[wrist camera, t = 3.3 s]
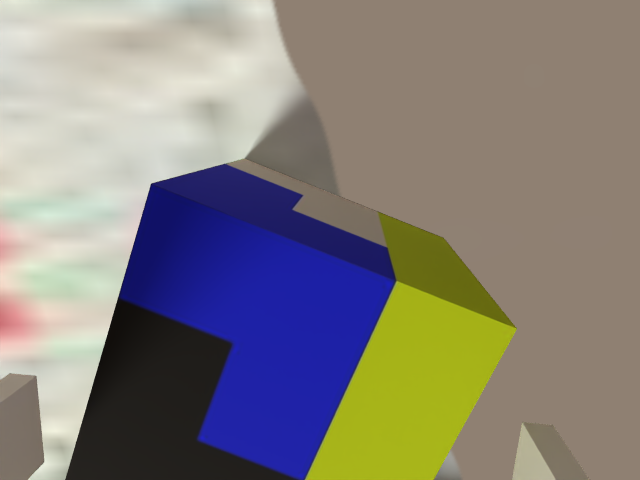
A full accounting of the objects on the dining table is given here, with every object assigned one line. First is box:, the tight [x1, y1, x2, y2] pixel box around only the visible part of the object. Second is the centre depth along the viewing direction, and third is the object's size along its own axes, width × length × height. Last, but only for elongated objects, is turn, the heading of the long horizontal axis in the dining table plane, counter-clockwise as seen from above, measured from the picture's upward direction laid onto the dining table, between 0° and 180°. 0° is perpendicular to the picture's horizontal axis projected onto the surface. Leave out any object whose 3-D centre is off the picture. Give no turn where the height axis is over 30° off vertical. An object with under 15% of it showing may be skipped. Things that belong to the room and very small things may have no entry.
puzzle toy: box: [65, 159, 517, 480], centre depth 18 cm, size 10×10×10 cm
